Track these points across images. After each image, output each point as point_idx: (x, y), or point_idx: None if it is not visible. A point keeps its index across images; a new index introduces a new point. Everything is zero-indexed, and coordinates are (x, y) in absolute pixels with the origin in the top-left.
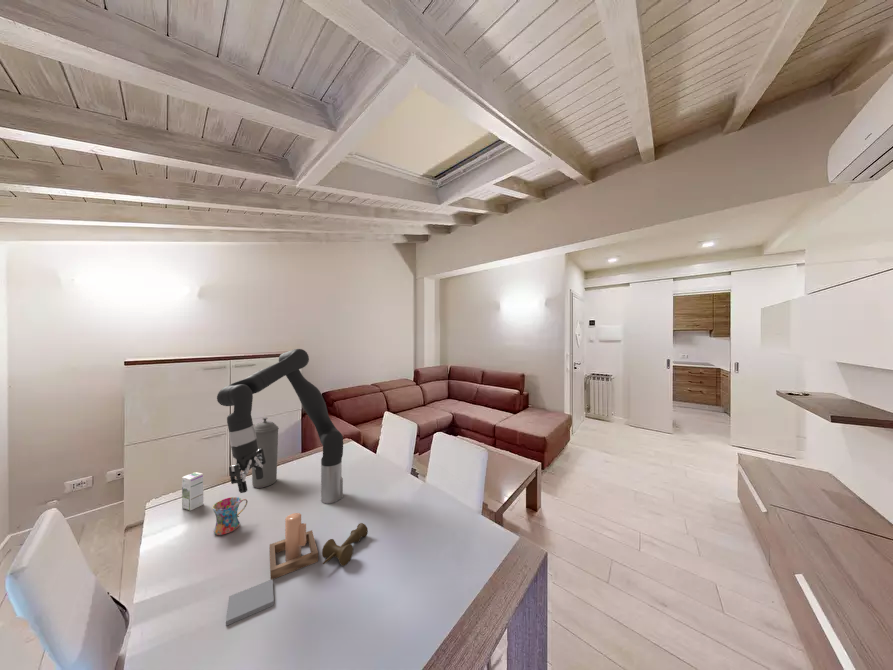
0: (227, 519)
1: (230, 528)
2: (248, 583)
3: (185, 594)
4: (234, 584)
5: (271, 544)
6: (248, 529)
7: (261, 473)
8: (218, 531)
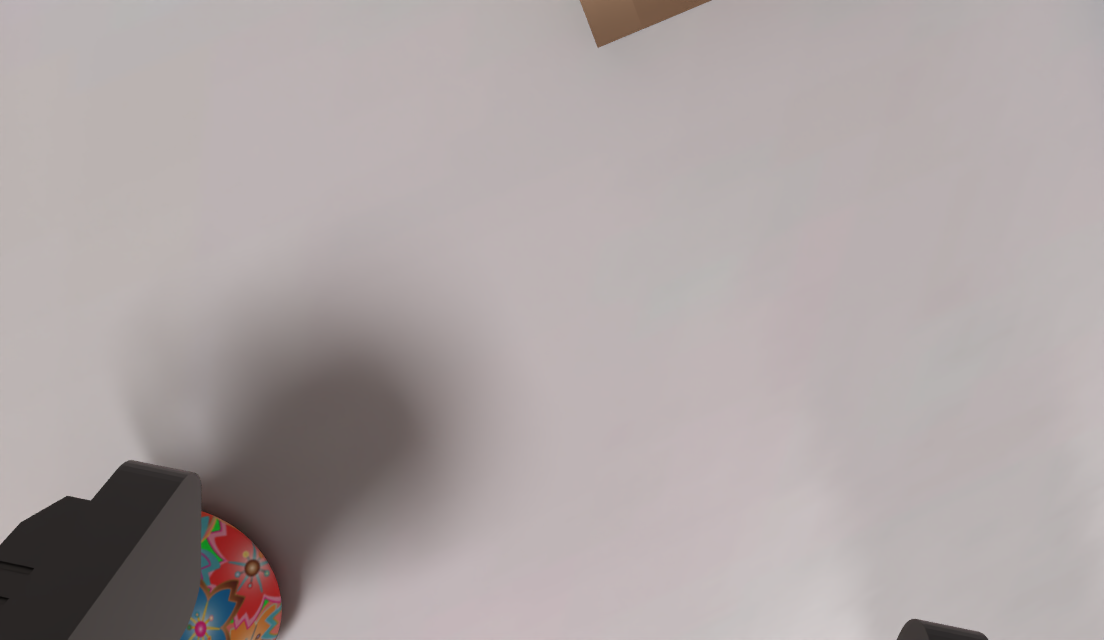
0: (195, 634)
1: (231, 556)
2: (989, 81)
3: (949, 531)
4: (960, 204)
5: (604, 24)
6: (210, 399)
7: (105, 584)
8: (265, 636)
